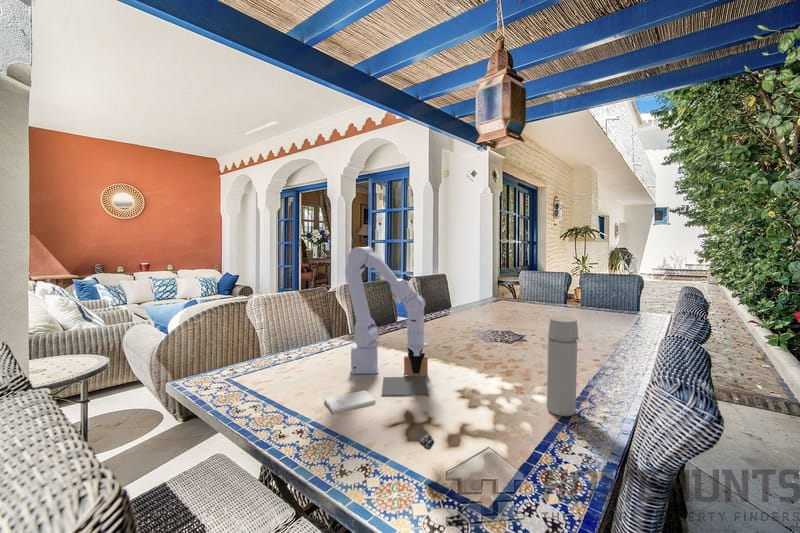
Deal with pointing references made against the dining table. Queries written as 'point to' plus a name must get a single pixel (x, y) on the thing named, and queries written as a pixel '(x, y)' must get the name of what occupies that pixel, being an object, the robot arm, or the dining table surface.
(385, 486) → the dining table surface
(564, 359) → the water bottle
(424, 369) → the terracotta tile
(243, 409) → the dining table surface
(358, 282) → the robot arm
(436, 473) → the dining table surface
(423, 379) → the mat
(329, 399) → the external hard drive
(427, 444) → the blueberries
